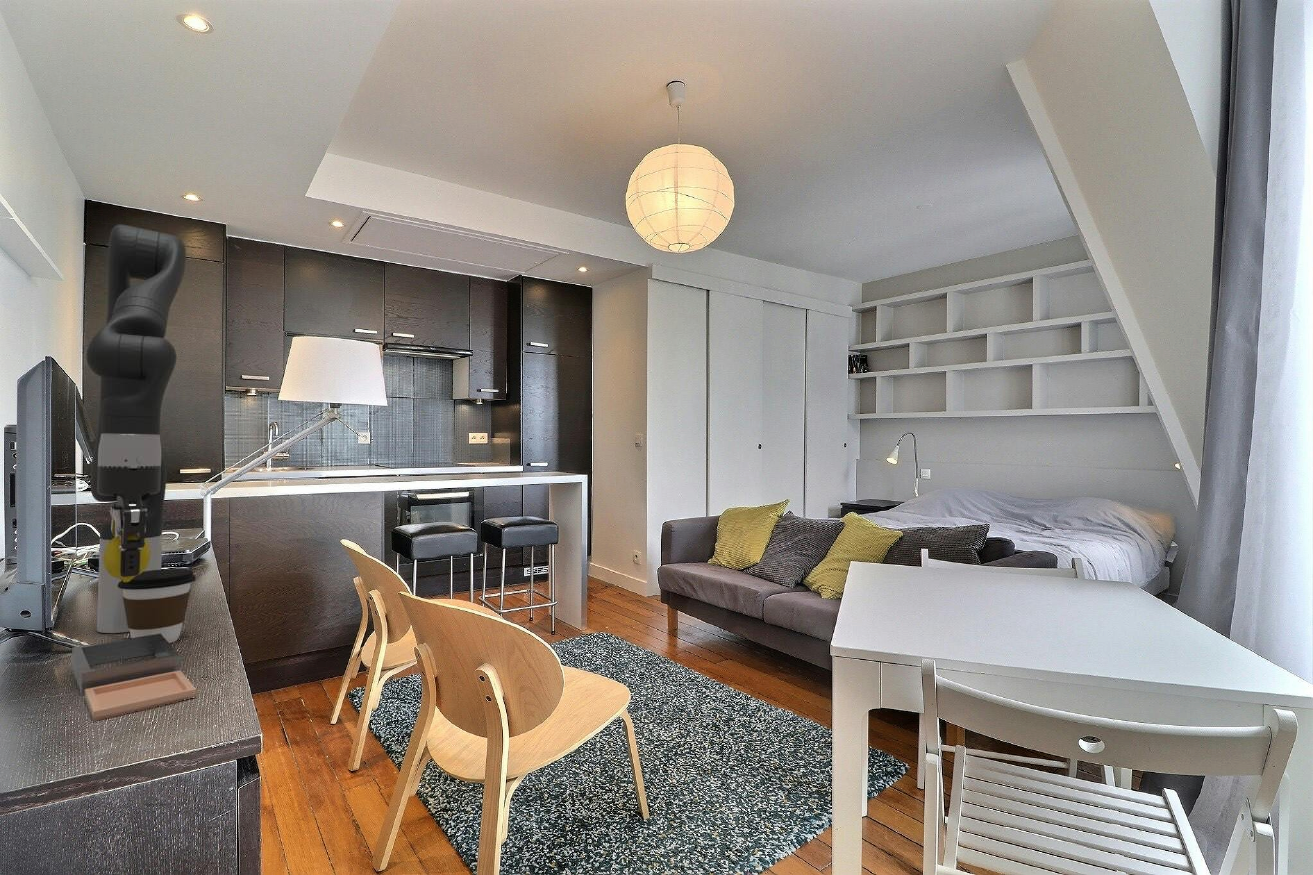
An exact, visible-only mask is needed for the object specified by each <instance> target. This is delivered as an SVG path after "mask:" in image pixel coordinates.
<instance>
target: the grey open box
mask: <svg viewBox="0 0 1313 875" xmlns="http://www.w3.org/2000/svg"><path fill="white" fill-rule="evenodd" d="M151 655H153V656H155V657H153V658H149V659H142V660H137V661H132V662H127V663H121V664H117V665H110V666H109V665H108V666H105V667H104V666H103V667H99V668H93V669H91V667H90V666H95V665H99V664H100V665H101V664H104V663H112V662H115V661H116V662H117V661H123V660H128V659H129V660H130V659H132V658H133V659H134V658H138V657H139V658H140V657H145V656H151ZM180 666H181V655H180V653H179V652H178V651H177V650H176V649H175V648H174V647H173V646H172V645H171V643H169V642H168V641H167V640H166V639H165V638H164V637H163V636H162V634H161V633H160V634H154V635H148V636H142V637H136V638H131V637H129V638H124V639H117V640H111V641H107V642H106V641H105V642H99V643H95V644H93V643H92V644H88V645H82V646H74V647H71V670H72V674H73V675H74V678H75V681H76V684H77V688H78V690H79V692H80V695H81V696H85V689H89V688H94V687H99V686H104V685H109V684H114V683H119V682H124V681H129V680H134V679H139V678H144V677H149V676H154V675H159V674H164V673H169V672H174V671H179V670H180V669H181V667H180Z"/></svg>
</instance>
